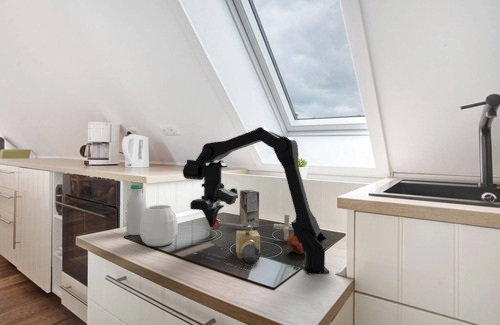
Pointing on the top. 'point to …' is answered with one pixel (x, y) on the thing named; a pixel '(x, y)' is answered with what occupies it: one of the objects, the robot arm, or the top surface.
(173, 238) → the white faceted vase
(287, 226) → the pipe connector
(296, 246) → the pomegranate
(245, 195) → the coffee box
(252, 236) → the valve
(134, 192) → the milk bottle
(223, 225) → the lever
